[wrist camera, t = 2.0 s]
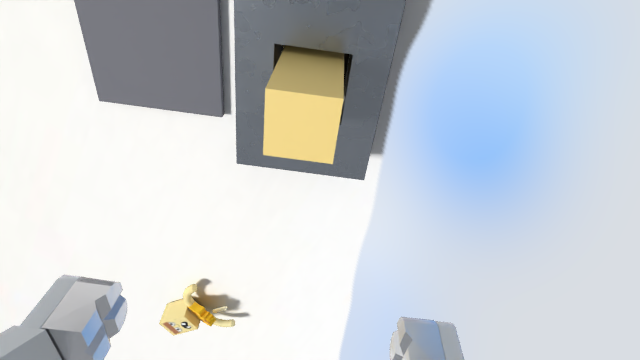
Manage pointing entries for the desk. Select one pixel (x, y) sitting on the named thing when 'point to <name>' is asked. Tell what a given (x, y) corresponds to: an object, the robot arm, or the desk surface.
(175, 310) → the character toy
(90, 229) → the desk surface
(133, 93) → the rubber mat
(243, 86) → the grey block with hole
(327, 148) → the square block
